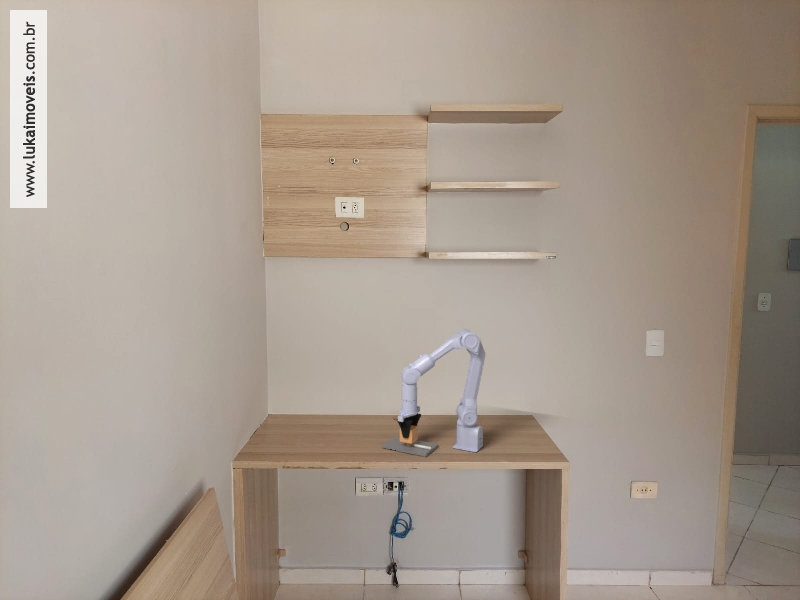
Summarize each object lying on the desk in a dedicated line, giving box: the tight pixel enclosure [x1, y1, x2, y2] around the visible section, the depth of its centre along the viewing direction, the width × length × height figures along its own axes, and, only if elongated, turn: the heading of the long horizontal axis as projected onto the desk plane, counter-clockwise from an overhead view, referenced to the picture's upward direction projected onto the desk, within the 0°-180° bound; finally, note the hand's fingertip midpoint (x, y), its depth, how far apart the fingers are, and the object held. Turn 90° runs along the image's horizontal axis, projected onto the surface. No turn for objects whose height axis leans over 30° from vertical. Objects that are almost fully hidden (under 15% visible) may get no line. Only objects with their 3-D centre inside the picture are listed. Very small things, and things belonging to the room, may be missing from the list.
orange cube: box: [399, 425, 419, 444], centre depth 191 cm, size 5×5×5 cm
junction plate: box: [381, 435, 439, 457], centre depth 192 cm, size 18×11×4 cm, turn 62°
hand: (409, 435), depth 191 cm, fingers closed on orange cube, 5 cm apart
